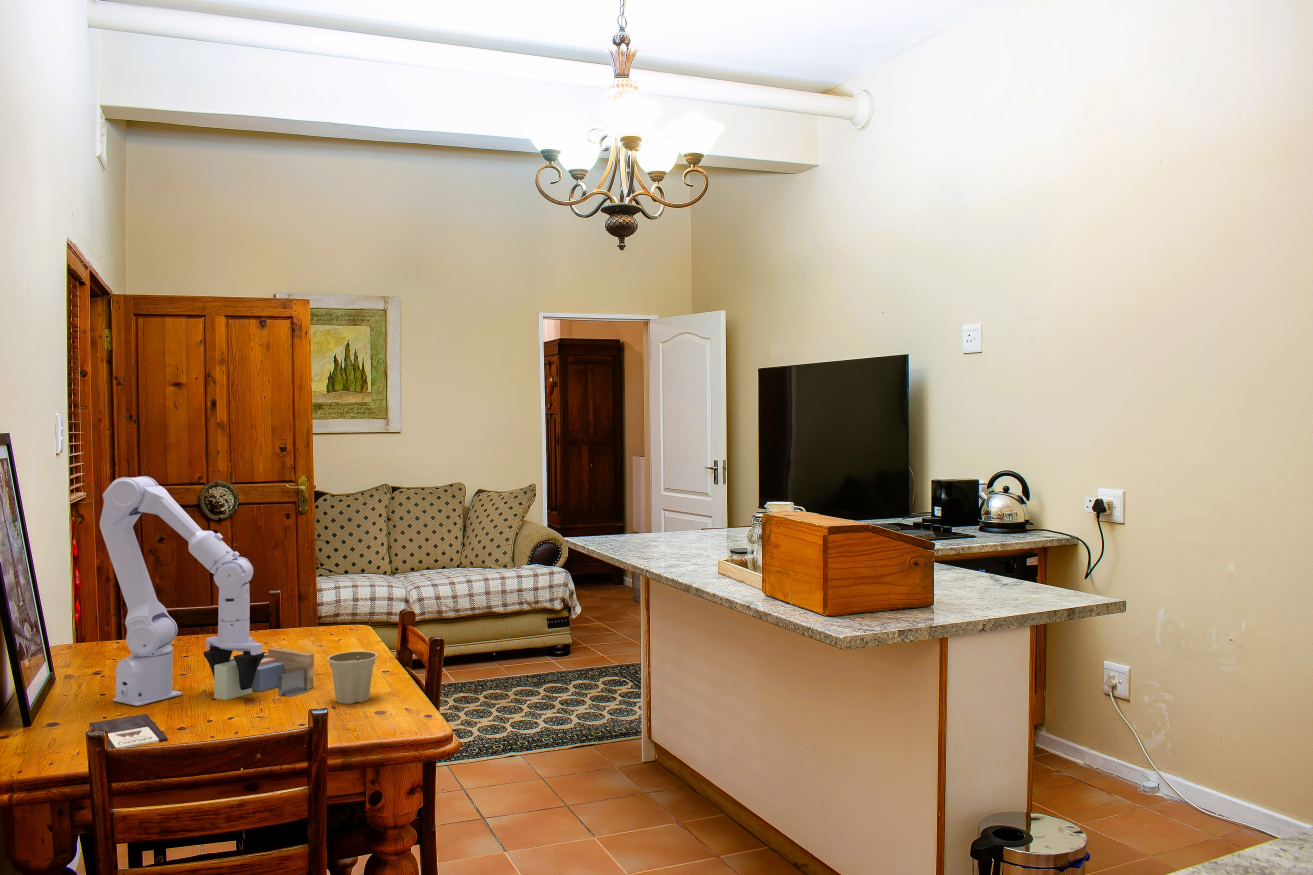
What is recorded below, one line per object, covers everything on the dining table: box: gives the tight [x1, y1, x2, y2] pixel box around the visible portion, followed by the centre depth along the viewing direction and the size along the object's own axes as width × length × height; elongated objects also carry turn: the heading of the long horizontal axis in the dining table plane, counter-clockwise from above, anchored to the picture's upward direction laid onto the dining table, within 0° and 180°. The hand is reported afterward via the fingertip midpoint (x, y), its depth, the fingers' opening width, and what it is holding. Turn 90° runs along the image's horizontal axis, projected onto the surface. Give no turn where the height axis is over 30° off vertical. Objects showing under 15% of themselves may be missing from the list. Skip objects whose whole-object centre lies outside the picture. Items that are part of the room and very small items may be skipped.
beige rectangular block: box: [213, 661, 253, 701], centre depth 183 cm, size 6×4×6 cm, turn 152°
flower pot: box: [326, 650, 378, 705], centre depth 180 cm, size 9×9×9 cm
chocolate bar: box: [88, 713, 169, 749], centre depth 158 cm, size 9×1×18 cm
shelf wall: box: [267, 647, 315, 689], centre depth 191 cm, size 2×12×7 cm, turn 62°
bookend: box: [277, 669, 312, 698], centre depth 185 cm, size 6×3×4 cm, turn 152°
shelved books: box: [252, 658, 284, 693], centre depth 189 cm, size 6×5×5 cm
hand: (233, 686), depth 183 cm, fingers open, 7 cm apart
